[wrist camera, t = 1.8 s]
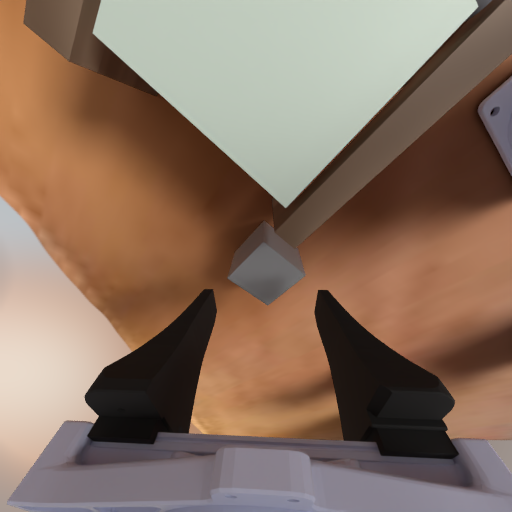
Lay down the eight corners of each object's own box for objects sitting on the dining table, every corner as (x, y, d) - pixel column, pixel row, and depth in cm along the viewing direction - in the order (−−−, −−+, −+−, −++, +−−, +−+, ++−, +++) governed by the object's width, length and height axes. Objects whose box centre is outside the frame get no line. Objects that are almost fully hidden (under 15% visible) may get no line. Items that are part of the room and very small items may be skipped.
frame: (430, 60, 12) (593, -20, 6) (284, 211, 17) (294, 249, 11) (256, -248, 8) (225, -1515, 2) (134, 76, 13) (23, 23, 7)
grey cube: (297, 248, 19) (305, 275, 16) (267, 275, 21) (267, 305, 17) (264, 220, 18) (263, 241, 14) (234, 251, 20) (227, 278, 16)
